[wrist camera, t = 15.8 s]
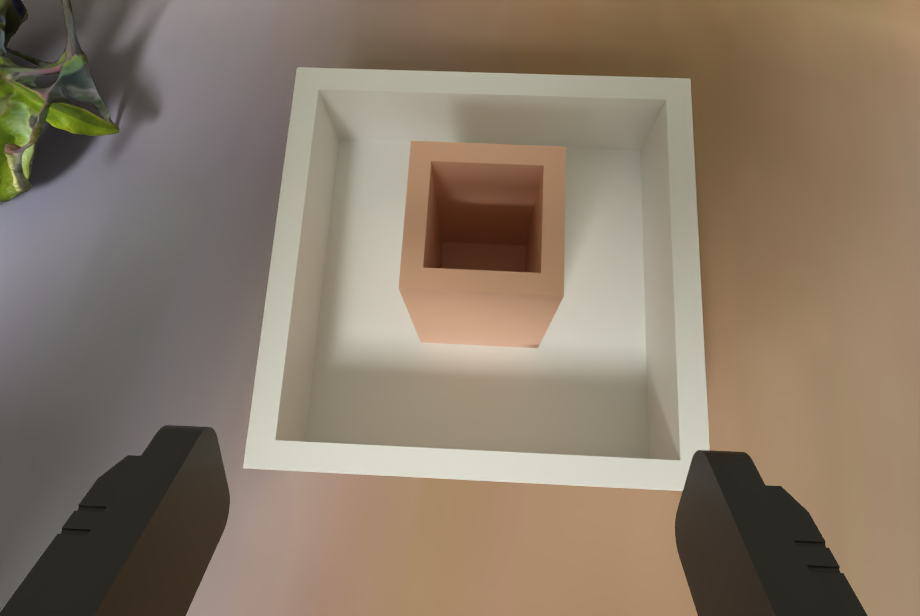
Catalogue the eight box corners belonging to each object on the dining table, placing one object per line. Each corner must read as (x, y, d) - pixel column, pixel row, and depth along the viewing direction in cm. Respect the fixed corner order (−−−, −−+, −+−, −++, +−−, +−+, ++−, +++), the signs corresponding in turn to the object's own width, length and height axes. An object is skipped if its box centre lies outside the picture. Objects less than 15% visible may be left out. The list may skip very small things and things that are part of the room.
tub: (420, 342, 27) (398, 288, 19) (428, 232, 28) (410, 140, 20) (538, 348, 27) (563, 296, 19) (540, 237, 28) (565, 146, 20)
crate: (285, 469, 26) (243, 468, 22) (325, 131, 31) (296, 67, 26) (667, 489, 26) (711, 492, 21) (655, 142, 30) (690, 78, 25)
